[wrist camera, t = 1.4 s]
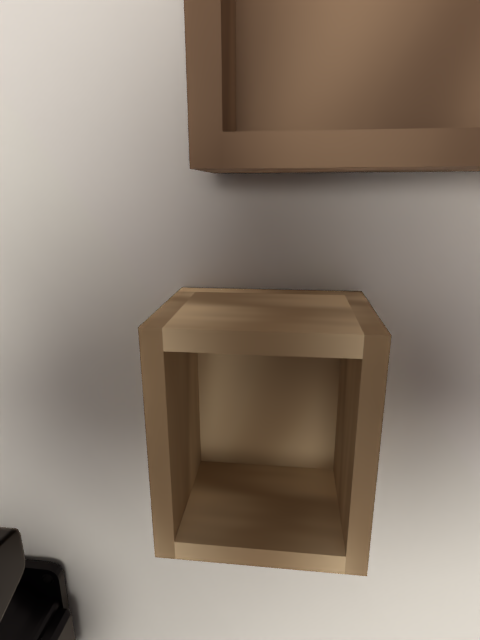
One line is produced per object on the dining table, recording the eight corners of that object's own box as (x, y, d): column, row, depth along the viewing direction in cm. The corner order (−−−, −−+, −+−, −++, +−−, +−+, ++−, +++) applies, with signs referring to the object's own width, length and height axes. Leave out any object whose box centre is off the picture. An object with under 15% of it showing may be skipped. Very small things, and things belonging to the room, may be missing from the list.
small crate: (189, 464, 17) (154, 556, 13) (182, 287, 15) (138, 327, 11) (347, 474, 16) (366, 576, 12) (361, 291, 14) (391, 335, 10)
